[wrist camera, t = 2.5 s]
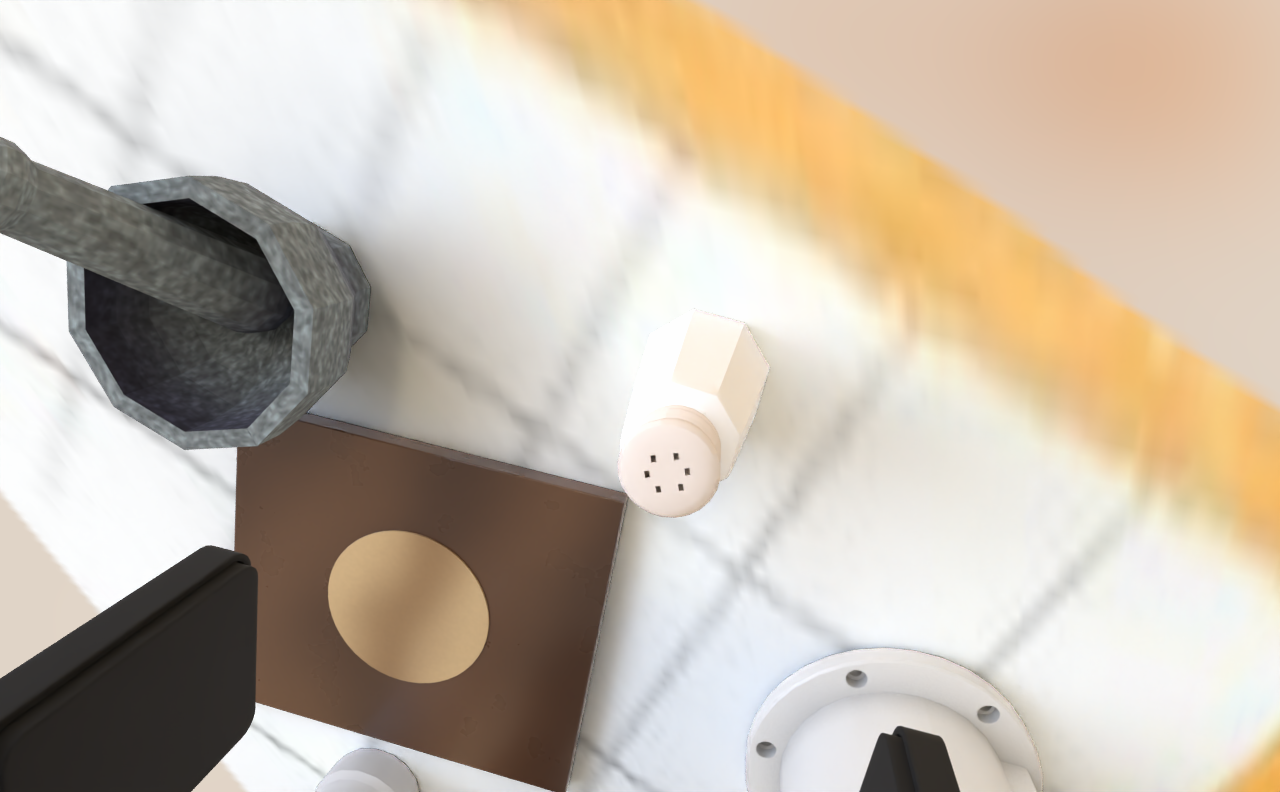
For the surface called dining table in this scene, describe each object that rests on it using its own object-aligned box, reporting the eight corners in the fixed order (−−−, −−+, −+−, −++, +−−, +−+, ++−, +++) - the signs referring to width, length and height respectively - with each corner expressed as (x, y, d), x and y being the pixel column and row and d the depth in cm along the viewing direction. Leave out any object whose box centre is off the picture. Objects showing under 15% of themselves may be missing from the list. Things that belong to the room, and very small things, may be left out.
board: (628, 493, 32) (624, 503, 31) (570, 779, 37) (564, 797, 36) (252, 398, 34) (235, 405, 33) (242, 682, 39) (228, 696, 38)
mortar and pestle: (445, 356, 32) (264, 451, 20) (278, 430, 34) (32, 551, 23) (319, 104, 30) (40, 53, 18) (151, 202, 32) (-189, 209, 21)
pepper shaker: (648, 442, 31) (586, 570, 21) (628, 316, 30) (552, 385, 19) (777, 430, 30) (780, 559, 20) (762, 299, 29) (758, 363, 18)
